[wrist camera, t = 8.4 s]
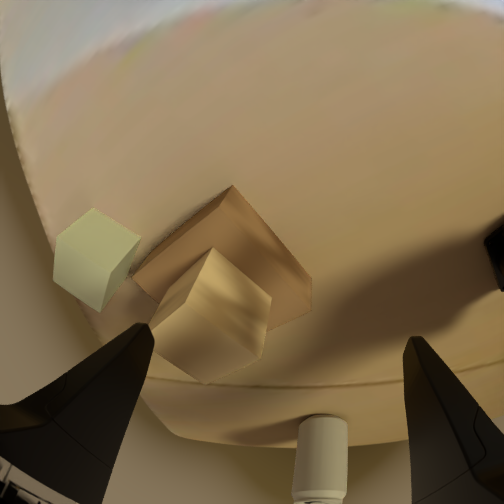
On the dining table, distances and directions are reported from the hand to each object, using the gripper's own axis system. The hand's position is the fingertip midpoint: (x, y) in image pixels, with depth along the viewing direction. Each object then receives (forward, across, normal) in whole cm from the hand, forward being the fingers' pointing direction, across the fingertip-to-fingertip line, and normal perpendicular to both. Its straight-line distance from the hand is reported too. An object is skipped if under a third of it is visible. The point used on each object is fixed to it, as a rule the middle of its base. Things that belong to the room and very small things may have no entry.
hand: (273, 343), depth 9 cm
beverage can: (+12, -4, +30) cm, 33 cm away
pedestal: (+12, +5, +5) cm, 14 cm away
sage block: (+12, +16, +3) cm, 20 cm away
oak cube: (+8, +5, +5) cm, 11 cm away
